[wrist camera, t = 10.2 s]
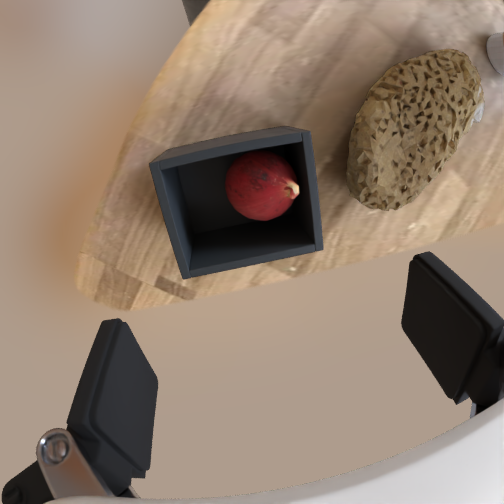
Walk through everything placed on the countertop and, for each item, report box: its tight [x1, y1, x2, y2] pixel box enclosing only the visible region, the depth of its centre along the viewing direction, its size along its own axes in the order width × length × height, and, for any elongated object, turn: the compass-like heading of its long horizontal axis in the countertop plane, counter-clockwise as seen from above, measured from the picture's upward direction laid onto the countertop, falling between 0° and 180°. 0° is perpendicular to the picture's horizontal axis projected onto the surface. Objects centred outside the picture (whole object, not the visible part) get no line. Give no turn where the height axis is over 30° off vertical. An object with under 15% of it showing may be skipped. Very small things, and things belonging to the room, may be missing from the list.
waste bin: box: [149, 126, 323, 279], centre depth 25 cm, size 11×9×8 cm
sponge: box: [346, 49, 485, 211], centre depth 25 cm, size 13×8×20 cm
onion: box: [225, 150, 299, 221], centre depth 25 cm, size 6×6×8 cm
